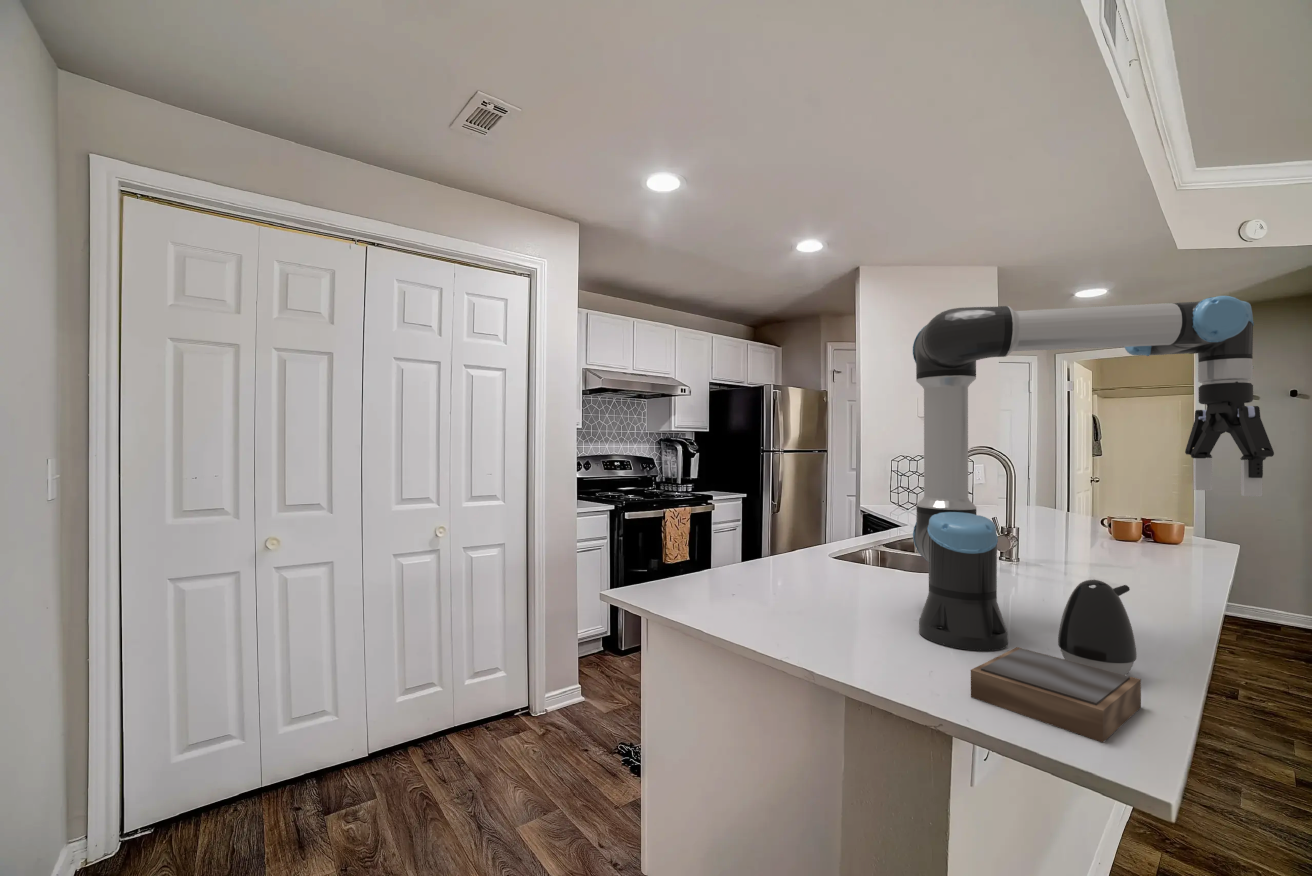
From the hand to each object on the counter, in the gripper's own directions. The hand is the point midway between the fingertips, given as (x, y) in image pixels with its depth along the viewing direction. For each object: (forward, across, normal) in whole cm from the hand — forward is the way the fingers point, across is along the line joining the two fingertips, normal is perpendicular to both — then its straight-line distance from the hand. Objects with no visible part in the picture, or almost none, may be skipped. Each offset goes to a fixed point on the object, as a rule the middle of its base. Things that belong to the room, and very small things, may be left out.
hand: (1225, 493), depth 111 cm
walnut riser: (+28, -40, +43) cm, 65 cm away
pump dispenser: (+28, -26, +32) cm, 50 cm away
